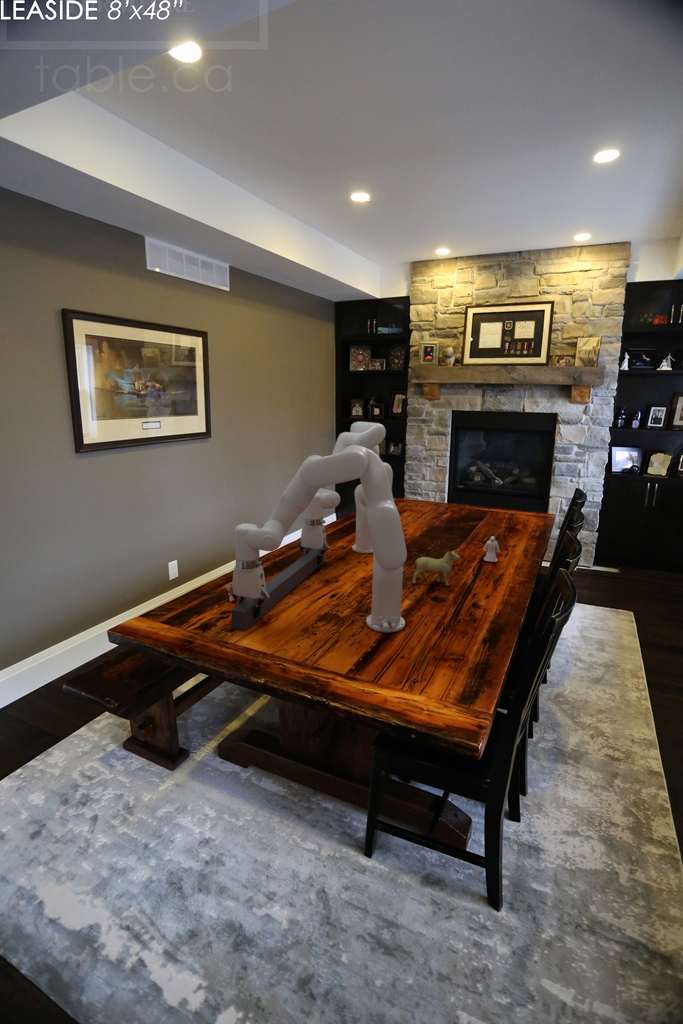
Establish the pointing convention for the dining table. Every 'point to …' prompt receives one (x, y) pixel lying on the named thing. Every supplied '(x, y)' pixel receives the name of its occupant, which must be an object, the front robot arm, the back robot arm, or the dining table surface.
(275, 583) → the post
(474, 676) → the dining table surface
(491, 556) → the figurine
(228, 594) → the white irregular piece
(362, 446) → the back robot arm
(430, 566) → the toy
